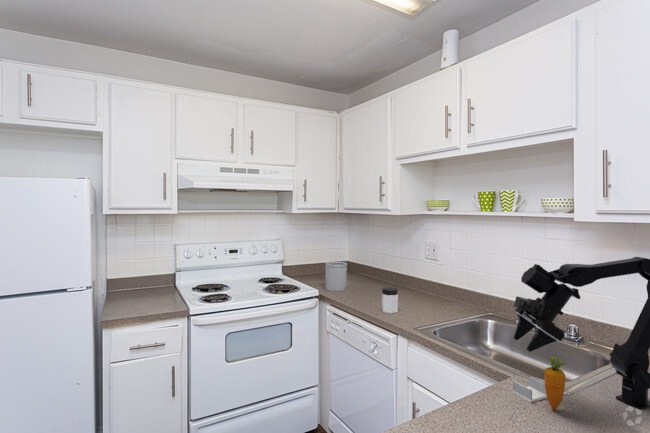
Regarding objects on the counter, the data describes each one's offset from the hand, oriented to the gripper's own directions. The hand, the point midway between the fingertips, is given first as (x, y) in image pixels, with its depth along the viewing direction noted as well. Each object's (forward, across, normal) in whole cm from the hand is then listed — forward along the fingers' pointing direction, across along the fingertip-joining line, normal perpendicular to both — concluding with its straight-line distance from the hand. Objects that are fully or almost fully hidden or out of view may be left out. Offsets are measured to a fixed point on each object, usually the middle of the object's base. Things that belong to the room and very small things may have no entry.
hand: (521, 344), depth 108 cm
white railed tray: (+11, 0, +10) cm, 15 cm away
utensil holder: (+48, -131, -48) cm, 148 cm away
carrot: (+10, +8, +13) cm, 18 cm away
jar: (+31, -83, -20) cm, 91 cm away
